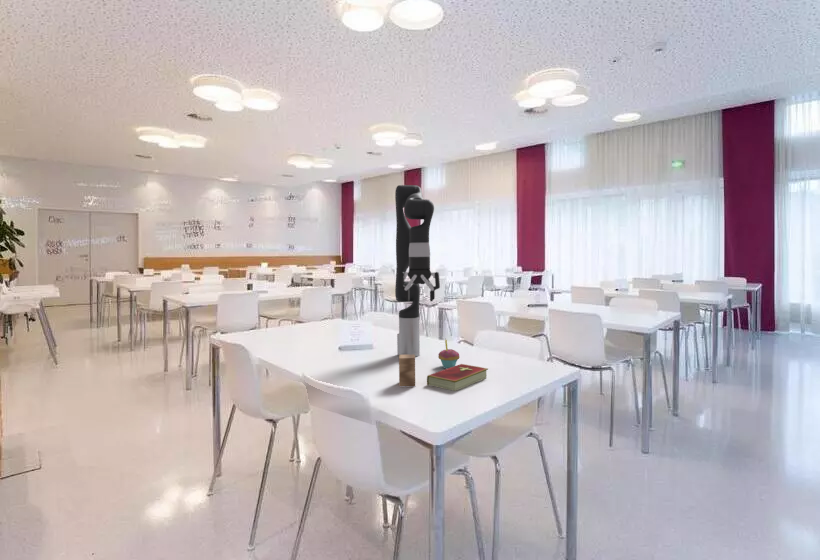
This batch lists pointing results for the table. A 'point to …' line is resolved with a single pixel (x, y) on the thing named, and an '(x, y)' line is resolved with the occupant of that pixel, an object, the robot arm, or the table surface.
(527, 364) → the table surface
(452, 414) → the table surface
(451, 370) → the hardcover book
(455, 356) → the cupcake
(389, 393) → the table surface
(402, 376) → the block
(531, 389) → the table surface
